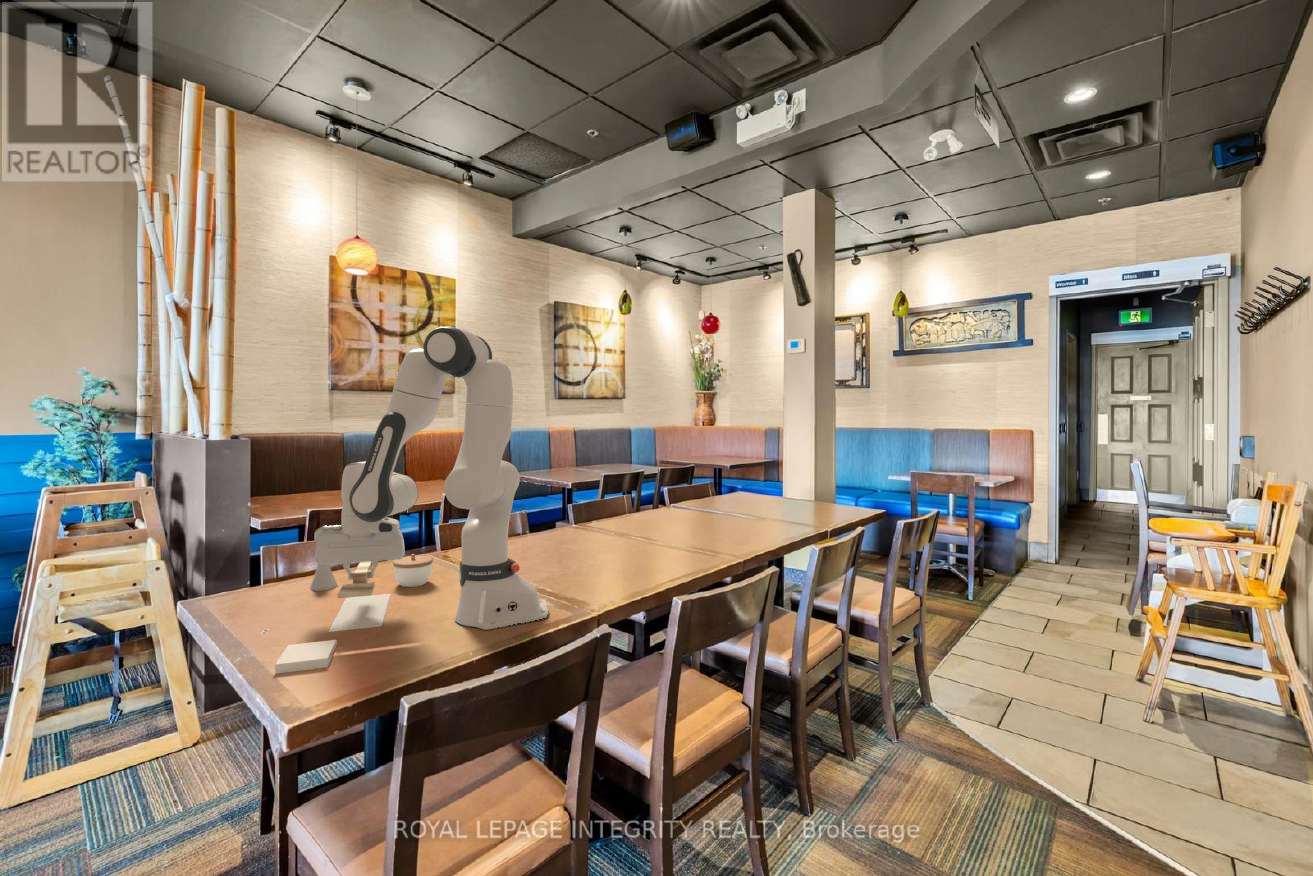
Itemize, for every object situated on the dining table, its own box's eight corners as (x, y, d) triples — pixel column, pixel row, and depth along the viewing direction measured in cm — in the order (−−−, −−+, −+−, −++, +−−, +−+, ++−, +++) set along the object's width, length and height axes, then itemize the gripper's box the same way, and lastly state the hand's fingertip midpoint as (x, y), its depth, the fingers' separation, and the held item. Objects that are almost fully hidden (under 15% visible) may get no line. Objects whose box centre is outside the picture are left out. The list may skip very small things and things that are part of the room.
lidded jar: (429, 578, 177) (429, 548, 176) (436, 587, 168) (436, 556, 167) (391, 584, 171) (390, 552, 171) (396, 593, 162) (395, 560, 162)
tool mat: (390, 595, 160) (390, 593, 160) (381, 628, 136) (381, 626, 136) (346, 599, 156) (346, 597, 156) (328, 634, 132) (328, 631, 132)
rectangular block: (336, 639, 124) (327, 658, 115) (336, 649, 124) (327, 668, 115) (288, 645, 121) (274, 664, 112) (288, 655, 121) (275, 675, 112)
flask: (343, 588, 167) (342, 553, 166) (317, 594, 161) (317, 559, 160) (329, 584, 171) (329, 550, 170) (304, 590, 165) (303, 555, 164)
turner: (351, 573, 155) (351, 562, 155) (380, 571, 157) (380, 560, 157) (337, 598, 134) (337, 585, 134) (371, 595, 137) (371, 583, 137)
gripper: (311, 529, 139) (311, 585, 140) (403, 525, 146) (403, 578, 147) (316, 524, 145) (317, 578, 146) (405, 520, 152) (405, 572, 153)
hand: (361, 578), depth 147 cm, fingers closed on turner, 3 cm apart
